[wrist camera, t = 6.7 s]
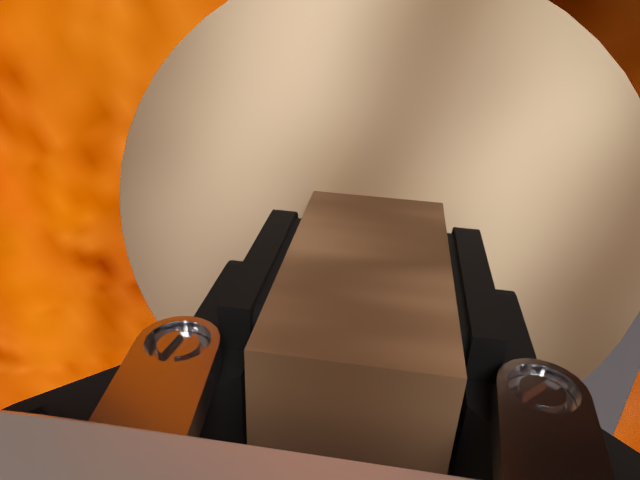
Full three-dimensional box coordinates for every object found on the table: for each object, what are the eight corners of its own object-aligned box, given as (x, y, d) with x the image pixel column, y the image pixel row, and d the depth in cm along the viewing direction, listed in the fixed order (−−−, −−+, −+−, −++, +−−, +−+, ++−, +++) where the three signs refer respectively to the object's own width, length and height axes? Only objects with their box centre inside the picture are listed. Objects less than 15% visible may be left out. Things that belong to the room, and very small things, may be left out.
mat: (666, 281, 26) (671, 287, 26) (608, 428, 31) (612, 436, 31) (382, 250, 28) (382, 255, 28) (367, 394, 33) (366, 401, 32)
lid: (740, -32, 10) (1231, -35, 4) (570, 448, 16) (668, 743, 10) (104, -58, 12) (-228, -87, 6) (161, 391, 18) (27, 616, 12)
